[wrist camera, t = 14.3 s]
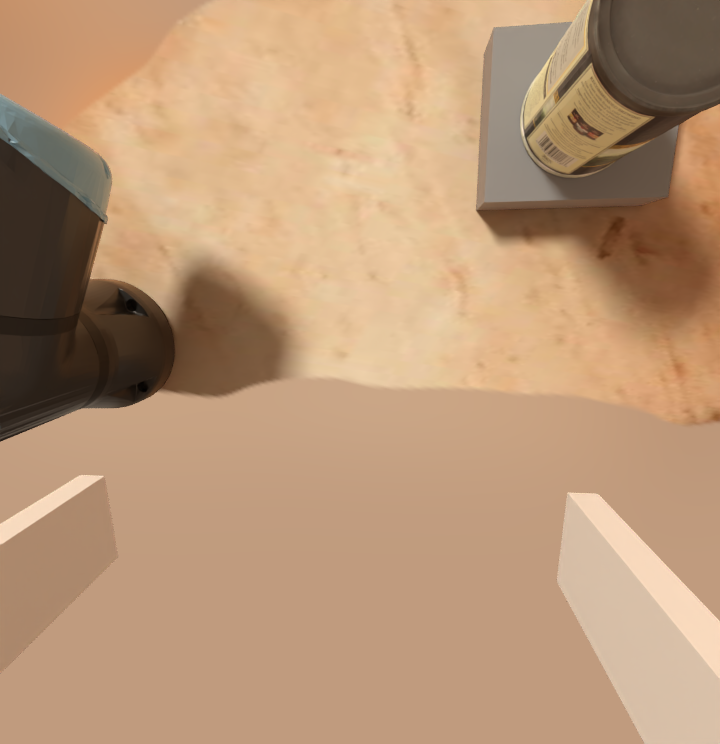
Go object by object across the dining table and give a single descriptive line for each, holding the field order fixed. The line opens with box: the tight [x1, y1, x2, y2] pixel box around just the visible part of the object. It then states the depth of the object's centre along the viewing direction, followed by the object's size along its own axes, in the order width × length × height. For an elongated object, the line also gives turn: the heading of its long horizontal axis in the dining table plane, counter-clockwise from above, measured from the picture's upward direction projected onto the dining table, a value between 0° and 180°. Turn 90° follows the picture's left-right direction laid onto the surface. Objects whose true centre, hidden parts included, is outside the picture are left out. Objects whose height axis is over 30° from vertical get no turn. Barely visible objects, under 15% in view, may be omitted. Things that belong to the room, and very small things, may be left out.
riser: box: [476, 22, 679, 210], centre depth 36 cm, size 16×14×4 cm
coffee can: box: [520, 0, 720, 178], centre depth 28 cm, size 10×10×14 cm
